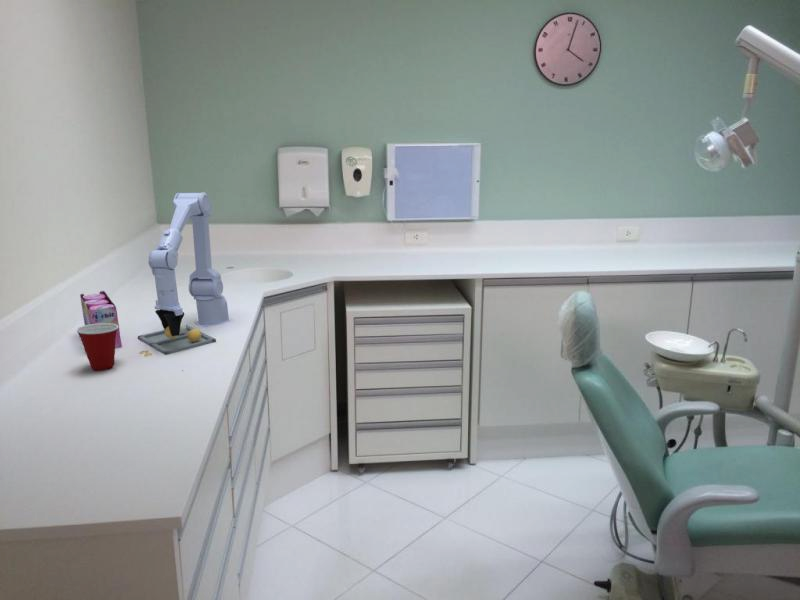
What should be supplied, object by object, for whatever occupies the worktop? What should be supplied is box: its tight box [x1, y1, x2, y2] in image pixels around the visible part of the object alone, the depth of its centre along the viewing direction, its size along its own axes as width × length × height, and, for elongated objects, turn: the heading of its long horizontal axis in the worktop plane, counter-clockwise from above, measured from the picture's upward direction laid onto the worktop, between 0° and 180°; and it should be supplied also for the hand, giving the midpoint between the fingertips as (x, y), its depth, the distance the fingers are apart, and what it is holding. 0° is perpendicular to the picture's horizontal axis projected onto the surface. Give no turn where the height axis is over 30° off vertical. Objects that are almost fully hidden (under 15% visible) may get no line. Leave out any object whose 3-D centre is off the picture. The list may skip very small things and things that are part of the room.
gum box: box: [79, 290, 123, 349], centre depth 213 cm, size 24×8×14 cm, turn 31°
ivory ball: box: [179, 321, 187, 335], centre depth 216 cm, size 4×4×4 cm
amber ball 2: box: [187, 328, 201, 342], centre depth 209 cm, size 4×4×4 cm
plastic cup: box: [76, 323, 120, 372], centre depth 190 cm, size 11×11×12 cm
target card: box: [139, 350, 154, 357], centre depth 200 cm, size 5×8×1 cm, turn 41°
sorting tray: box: [137, 324, 217, 356], centre depth 211 cm, size 16×21×1 cm
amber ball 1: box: [165, 326, 178, 339], centre depth 204 cm, size 4×4×4 cm
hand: (172, 333), depth 205 cm, fingers closed on amber ball 1, 4 cm apart
